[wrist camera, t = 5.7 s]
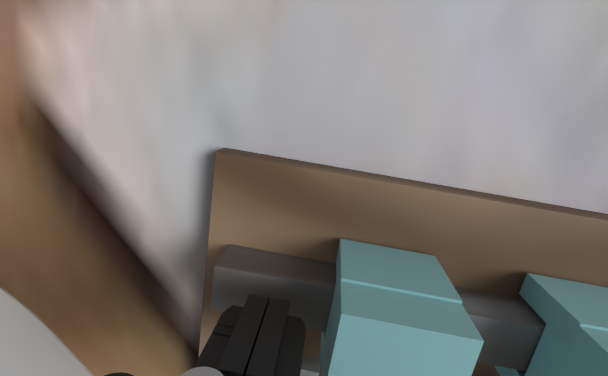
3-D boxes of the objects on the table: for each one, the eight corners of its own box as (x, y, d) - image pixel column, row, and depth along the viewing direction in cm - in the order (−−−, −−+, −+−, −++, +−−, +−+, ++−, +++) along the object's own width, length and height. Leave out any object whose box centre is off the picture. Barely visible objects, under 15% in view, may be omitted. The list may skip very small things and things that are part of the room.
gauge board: (224, 147, 15) (196, 161, 12) (638, 219, 14) (721, 254, 11) (200, 418, 20) (174, 478, 17) (514, 485, 19) (549, 561, 16)
